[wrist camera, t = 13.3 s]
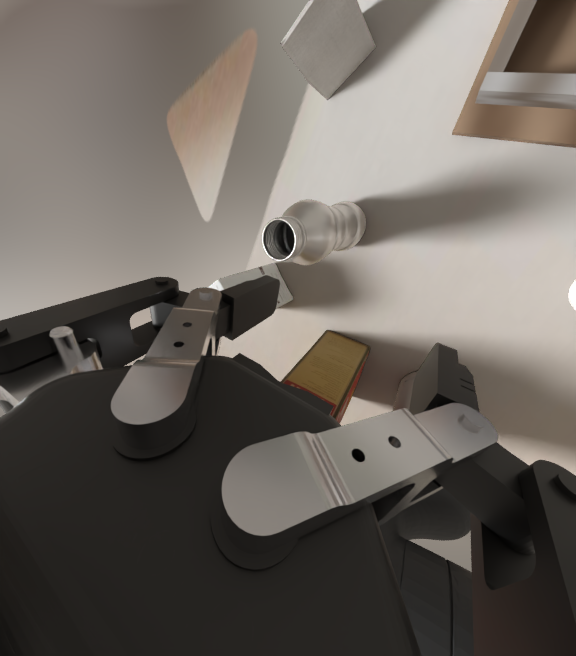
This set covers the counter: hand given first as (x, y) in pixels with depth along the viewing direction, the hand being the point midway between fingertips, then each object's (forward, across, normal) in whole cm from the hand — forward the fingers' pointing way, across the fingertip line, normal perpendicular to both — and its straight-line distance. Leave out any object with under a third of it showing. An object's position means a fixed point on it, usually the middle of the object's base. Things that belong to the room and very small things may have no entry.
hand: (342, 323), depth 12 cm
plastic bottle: (+28, +9, -1) cm, 30 cm away
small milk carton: (+28, +16, -18) cm, 37 cm away
